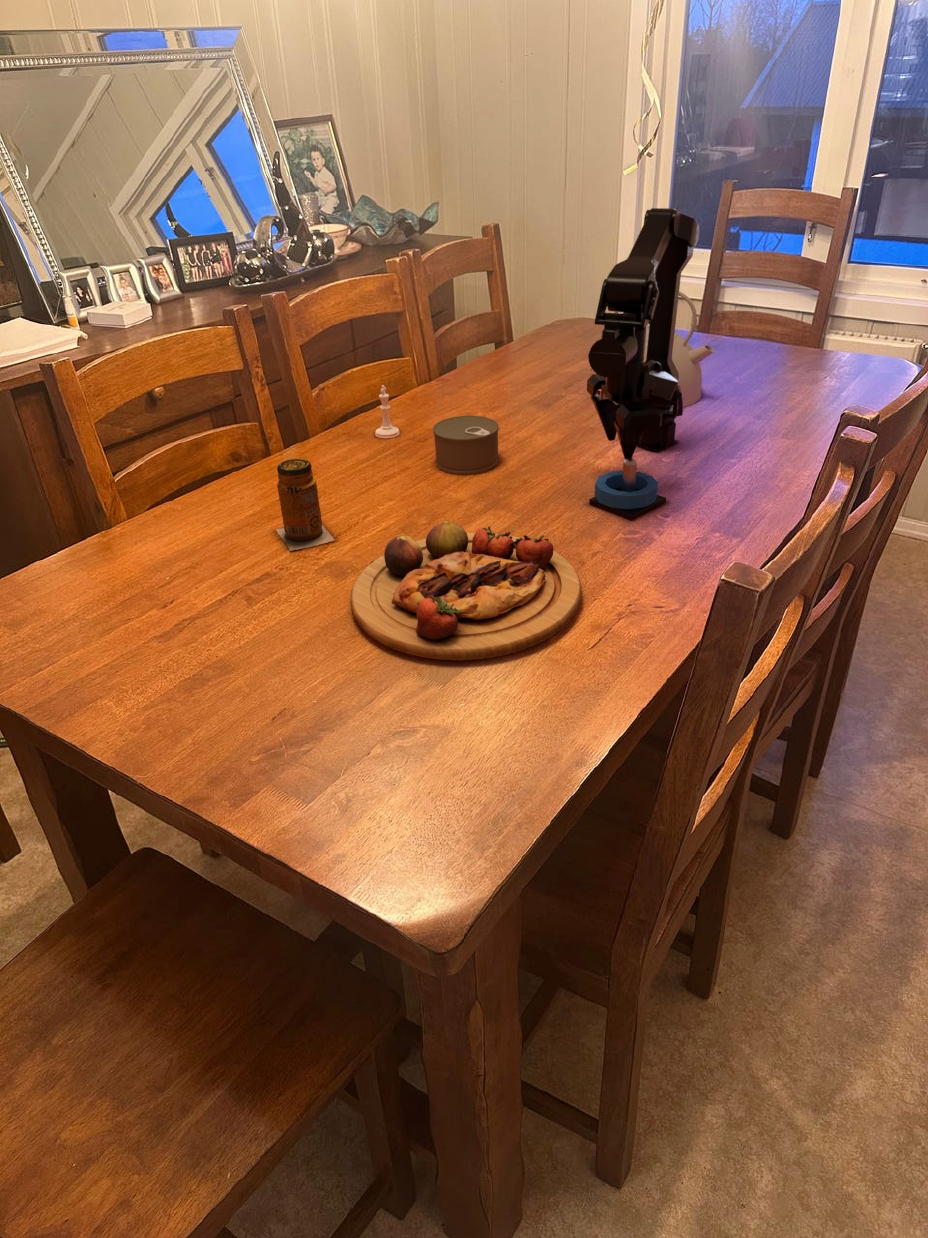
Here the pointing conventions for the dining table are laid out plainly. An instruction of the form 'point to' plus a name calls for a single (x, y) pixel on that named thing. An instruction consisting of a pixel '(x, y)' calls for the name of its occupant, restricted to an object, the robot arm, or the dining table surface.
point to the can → (466, 444)
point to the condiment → (300, 506)
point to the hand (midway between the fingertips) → (619, 449)
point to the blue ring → (626, 499)
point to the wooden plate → (465, 594)
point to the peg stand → (629, 486)
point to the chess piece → (386, 418)
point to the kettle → (687, 360)
